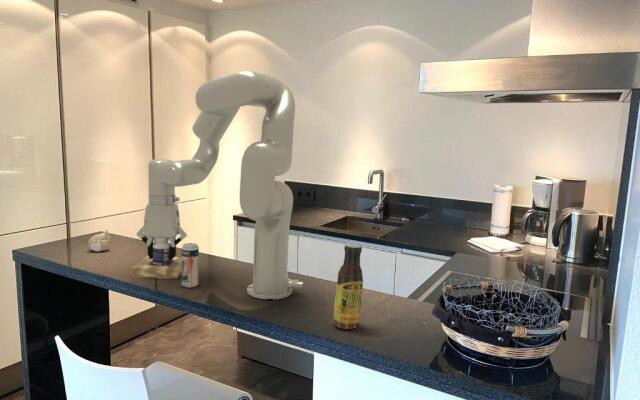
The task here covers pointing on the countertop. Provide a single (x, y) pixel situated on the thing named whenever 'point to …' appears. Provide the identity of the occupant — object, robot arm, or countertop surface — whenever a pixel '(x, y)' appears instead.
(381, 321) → the countertop surface
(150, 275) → the socket block
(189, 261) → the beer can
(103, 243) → the garlic bulb
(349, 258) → the sauce bottle
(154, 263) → the pill bottle
